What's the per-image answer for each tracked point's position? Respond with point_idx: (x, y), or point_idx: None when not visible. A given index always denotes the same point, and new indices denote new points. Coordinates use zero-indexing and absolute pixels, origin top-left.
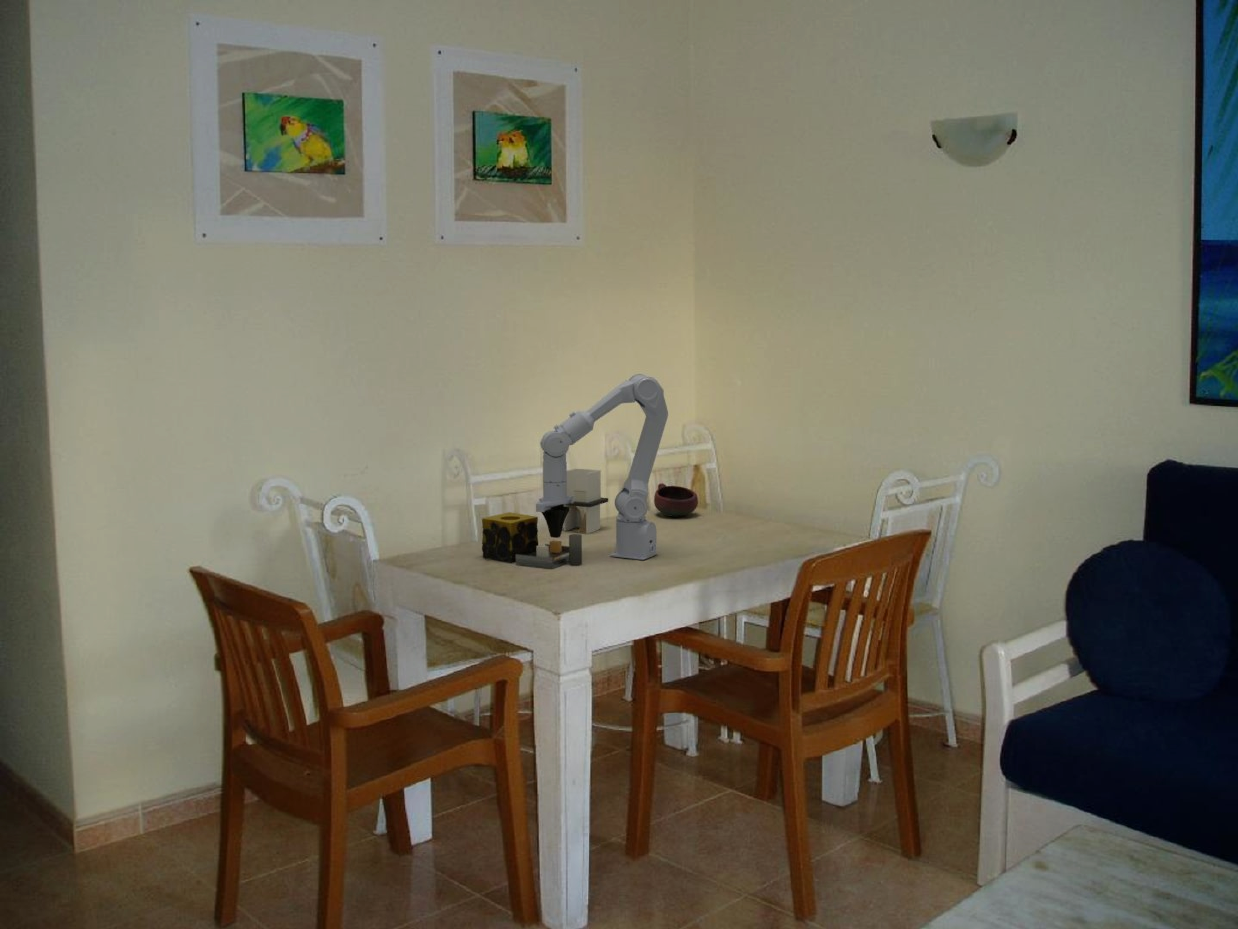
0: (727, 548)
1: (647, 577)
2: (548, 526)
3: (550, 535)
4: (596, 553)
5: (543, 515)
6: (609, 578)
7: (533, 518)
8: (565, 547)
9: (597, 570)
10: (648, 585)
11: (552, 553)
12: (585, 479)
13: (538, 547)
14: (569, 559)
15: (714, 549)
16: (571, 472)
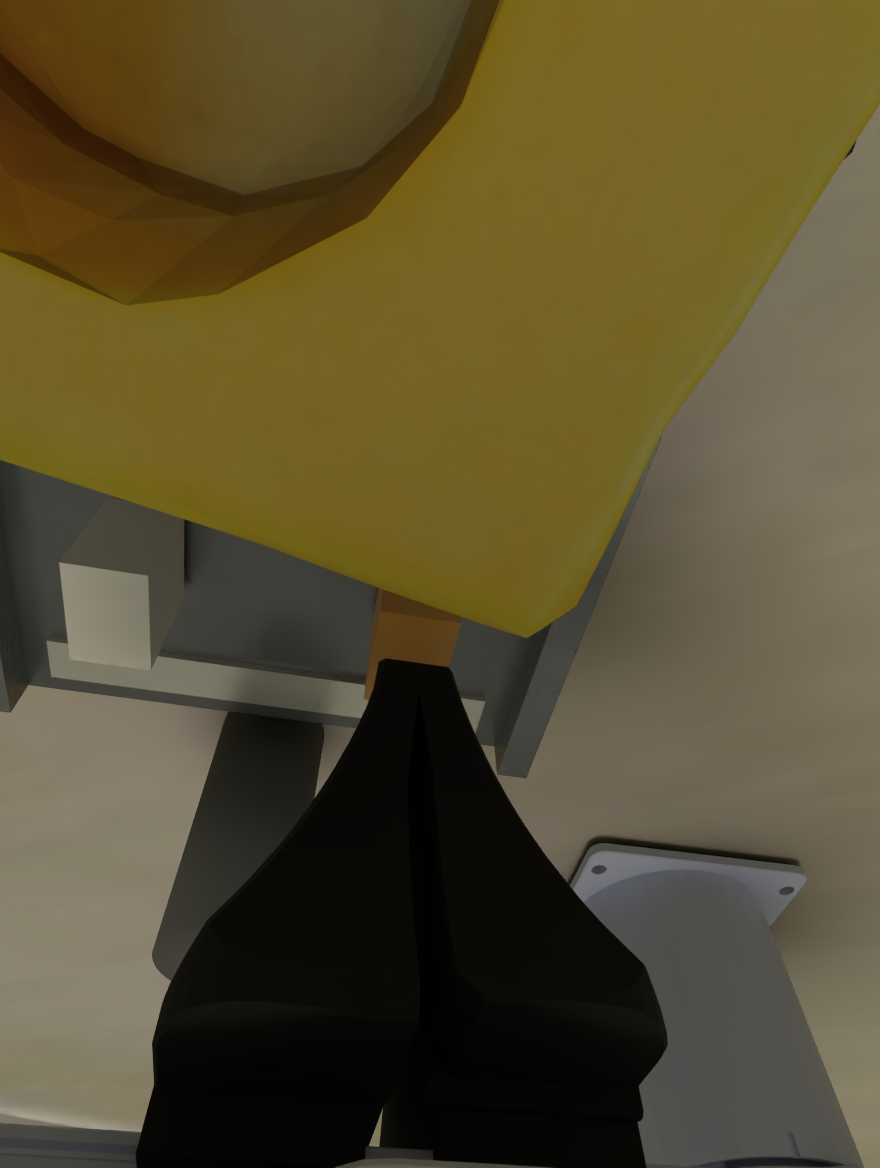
0: (867, 1125)
1: (151, 1041)
2: (348, 753)
3: (378, 673)
4: (708, 749)
5: (248, 882)
6: (20, 948)
7: (401, 588)
8: (539, 654)
9: (172, 869)
10: (4, 1065)
11: None
12: None
13: (68, 578)
14: (227, 738)
15: (845, 1103)
16: None
